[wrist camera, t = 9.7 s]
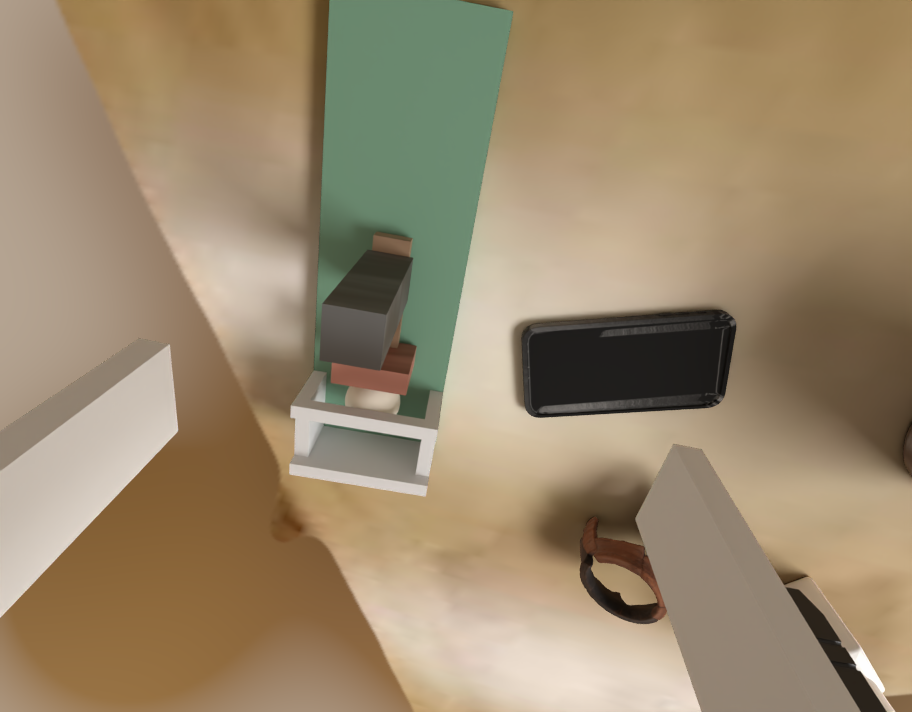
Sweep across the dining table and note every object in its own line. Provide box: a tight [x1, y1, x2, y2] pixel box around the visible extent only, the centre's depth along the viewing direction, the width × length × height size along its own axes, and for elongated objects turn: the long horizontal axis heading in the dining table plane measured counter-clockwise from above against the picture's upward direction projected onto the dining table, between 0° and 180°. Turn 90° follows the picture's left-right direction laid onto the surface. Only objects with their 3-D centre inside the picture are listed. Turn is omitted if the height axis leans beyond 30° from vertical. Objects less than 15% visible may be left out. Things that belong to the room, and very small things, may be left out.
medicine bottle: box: [784, 577, 895, 712], centre depth 42 cm, size 7×7×12 cm
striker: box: [319, 232, 417, 396], centre depth 29 cm, size 9×5×11 cm, turn 170°
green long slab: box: [289, 0, 513, 496], centre depth 31 cm, size 31×10×6 cm, turn 170°
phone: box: [522, 310, 736, 418], centre depth 36 cm, size 8×1×15 cm
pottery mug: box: [580, 517, 667, 624], centre depth 42 cm, size 12×10×8 cm
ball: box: [345, 386, 400, 415], centre depth 36 cm, size 4×4×4 cm
